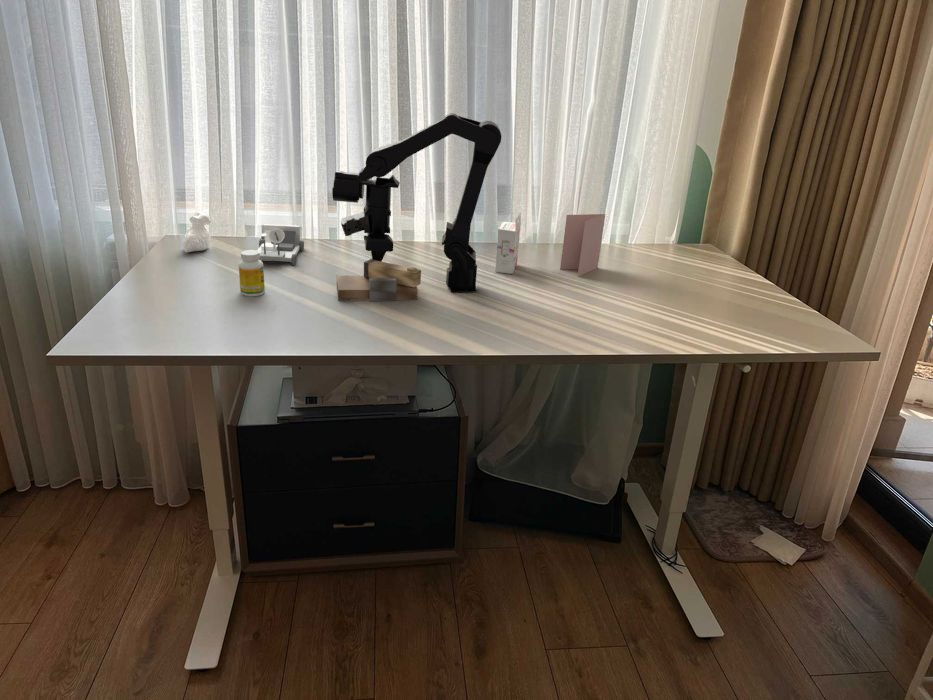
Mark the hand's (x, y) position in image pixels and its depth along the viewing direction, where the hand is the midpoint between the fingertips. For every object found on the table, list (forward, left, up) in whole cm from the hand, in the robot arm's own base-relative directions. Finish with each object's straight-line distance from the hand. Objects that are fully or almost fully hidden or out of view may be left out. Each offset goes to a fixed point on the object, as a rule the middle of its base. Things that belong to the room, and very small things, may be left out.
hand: (375, 267), depth 172 cm
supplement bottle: (+28, +7, -4) cm, 29 cm away
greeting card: (-57, -7, -4) cm, 57 cm away
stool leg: (-3, +7, -1) cm, 7 cm away
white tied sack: (+44, -27, -4) cm, 52 cm away
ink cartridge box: (-36, -10, -4) cm, 37 cm away
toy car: (+24, -20, -4) cm, 32 cm away
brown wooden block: (0, +7, -4) cm, 8 cm away
